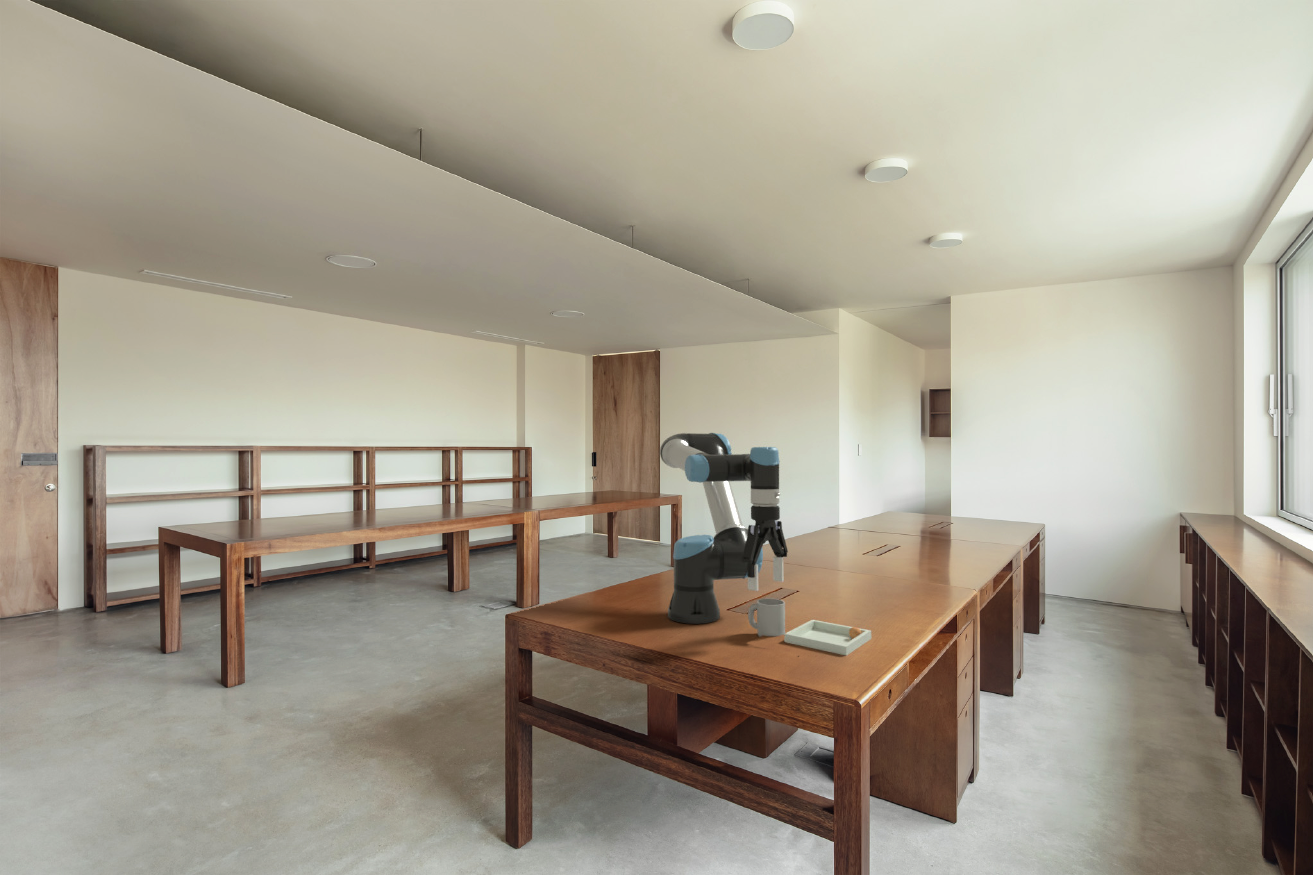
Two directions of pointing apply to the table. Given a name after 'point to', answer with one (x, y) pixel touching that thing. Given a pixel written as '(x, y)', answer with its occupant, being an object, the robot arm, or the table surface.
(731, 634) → the table surface
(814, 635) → the tray
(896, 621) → the table surface
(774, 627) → the cup
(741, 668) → the table surface
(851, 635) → the ball
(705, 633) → the table surface
